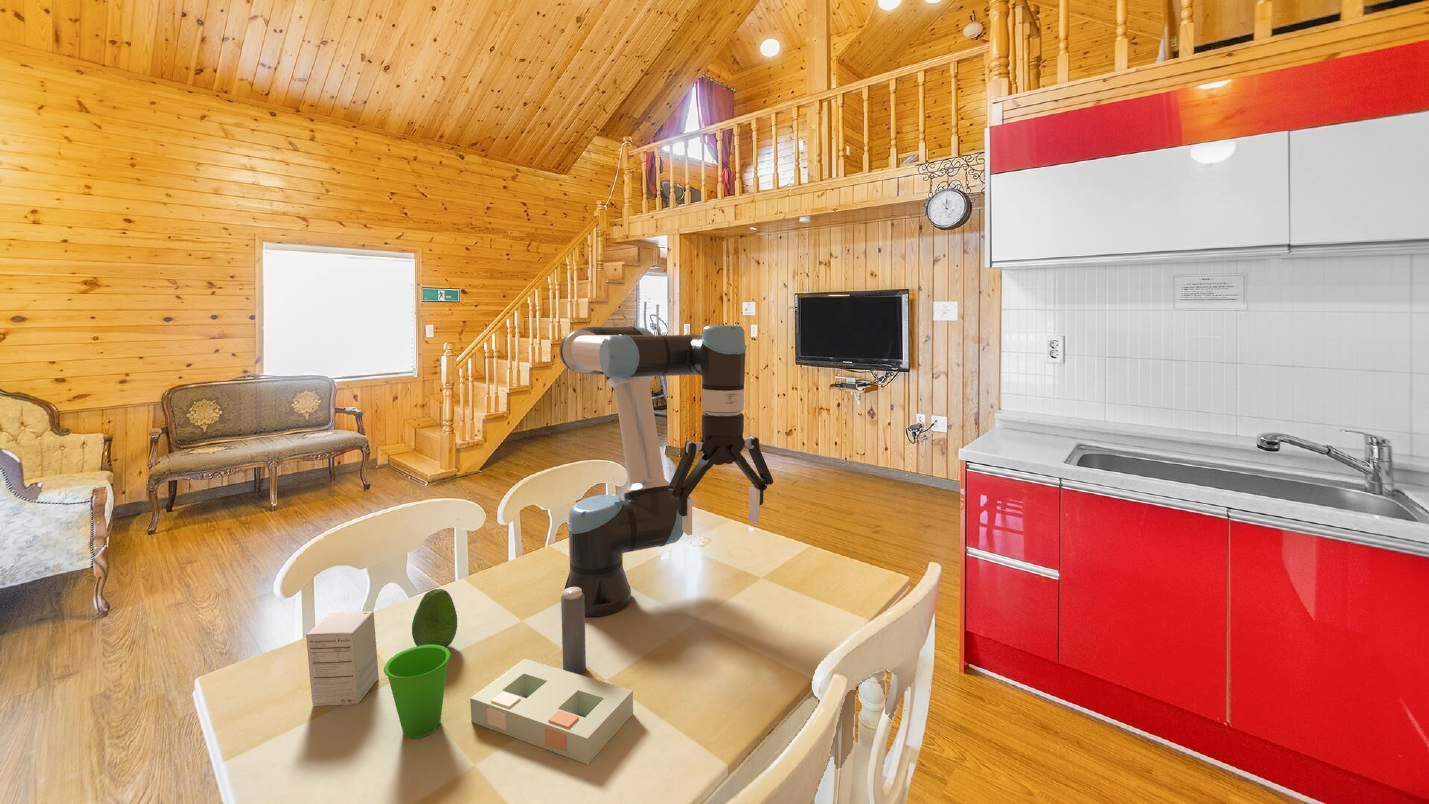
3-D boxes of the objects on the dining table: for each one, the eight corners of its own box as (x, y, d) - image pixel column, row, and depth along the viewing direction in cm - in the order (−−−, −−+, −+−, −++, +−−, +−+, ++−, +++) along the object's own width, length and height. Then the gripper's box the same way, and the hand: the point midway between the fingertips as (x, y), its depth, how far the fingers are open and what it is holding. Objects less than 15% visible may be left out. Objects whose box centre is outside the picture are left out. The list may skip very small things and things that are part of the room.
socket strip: (469, 723, 91) (468, 697, 90) (525, 680, 102) (524, 656, 101) (586, 766, 82) (586, 737, 81) (633, 713, 93) (632, 688, 92)
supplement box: (336, 680, 101) (330, 611, 100) (380, 678, 102) (375, 610, 101) (310, 707, 94) (304, 633, 93) (358, 705, 95) (352, 632, 93)
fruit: (405, 651, 111) (401, 590, 109) (446, 634, 117) (443, 577, 115) (424, 666, 106) (420, 603, 104) (466, 648, 112) (463, 589, 110)
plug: (558, 673, 104) (556, 593, 102) (572, 661, 107) (570, 584, 106) (576, 678, 102) (574, 597, 100) (590, 666, 106) (588, 588, 104)
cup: (433, 701, 96) (430, 638, 94) (465, 722, 91) (462, 656, 89) (376, 732, 88) (372, 664, 87) (408, 756, 83) (403, 685, 82)
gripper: (664, 419, 95) (664, 544, 98) (793, 411, 105) (790, 524, 108) (649, 413, 101) (649, 530, 104) (772, 406, 112) (769, 512, 115)
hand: (721, 527), depth 106 cm, fingers open, 13 cm apart
